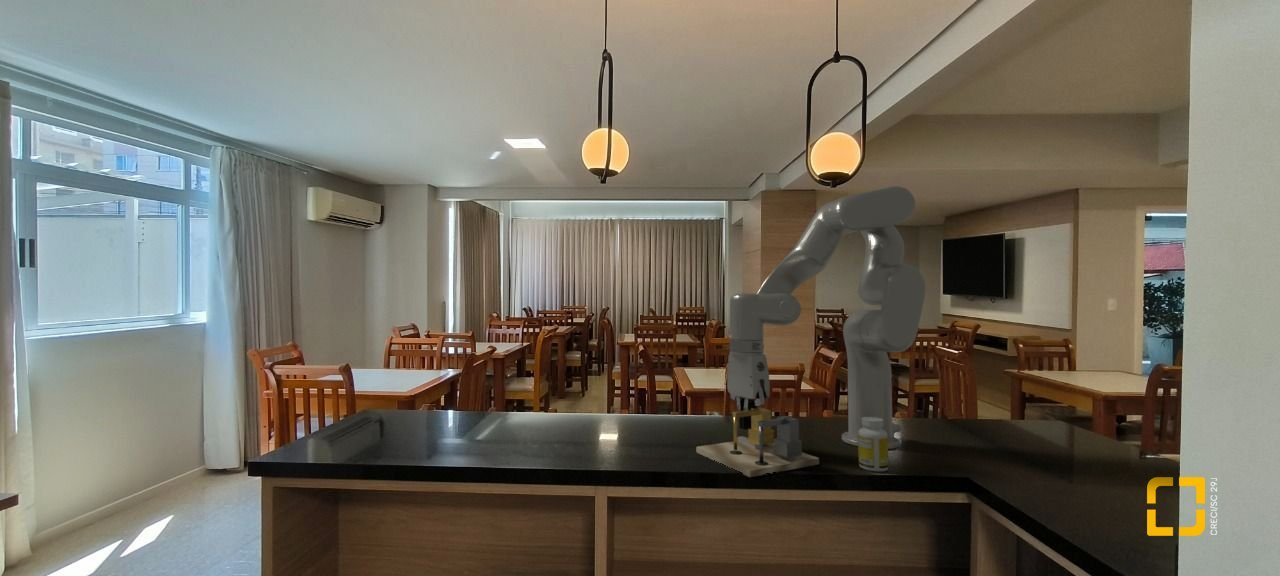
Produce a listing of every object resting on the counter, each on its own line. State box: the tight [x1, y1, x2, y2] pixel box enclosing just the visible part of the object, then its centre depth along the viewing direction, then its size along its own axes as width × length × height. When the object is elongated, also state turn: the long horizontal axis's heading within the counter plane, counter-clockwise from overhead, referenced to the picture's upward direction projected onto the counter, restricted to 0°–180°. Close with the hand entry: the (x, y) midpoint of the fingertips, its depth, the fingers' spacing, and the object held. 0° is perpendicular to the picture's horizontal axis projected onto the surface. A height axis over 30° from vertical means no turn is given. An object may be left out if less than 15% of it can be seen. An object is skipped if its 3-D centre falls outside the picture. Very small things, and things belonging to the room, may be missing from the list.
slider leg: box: [732, 406, 775, 450], centre depth 105 cm, size 9×4×8 cm, turn 117°
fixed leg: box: [758, 415, 803, 463], centre depth 98 cm, size 9×4×8 cm, turn 117°
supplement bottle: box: [857, 417, 889, 473], centre depth 98 cm, size 5×5×10 cm
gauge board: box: [695, 435, 820, 478], centre depth 104 cm, size 18×18×2 cm
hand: (746, 428), depth 111 cm, fingers closed
